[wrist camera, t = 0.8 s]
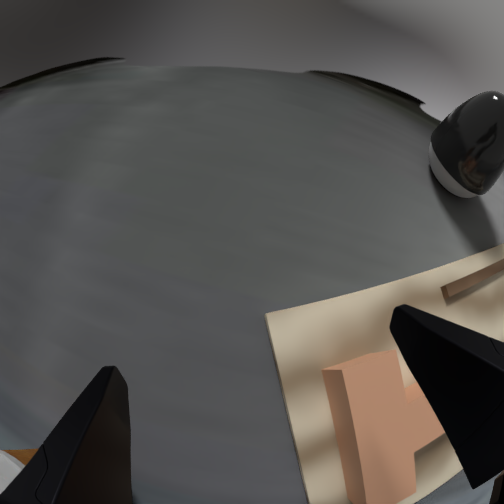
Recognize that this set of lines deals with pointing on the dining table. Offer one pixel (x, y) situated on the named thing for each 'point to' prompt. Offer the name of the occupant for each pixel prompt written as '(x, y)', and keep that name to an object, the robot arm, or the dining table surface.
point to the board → (371, 341)
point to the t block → (378, 427)
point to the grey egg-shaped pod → (470, 146)
